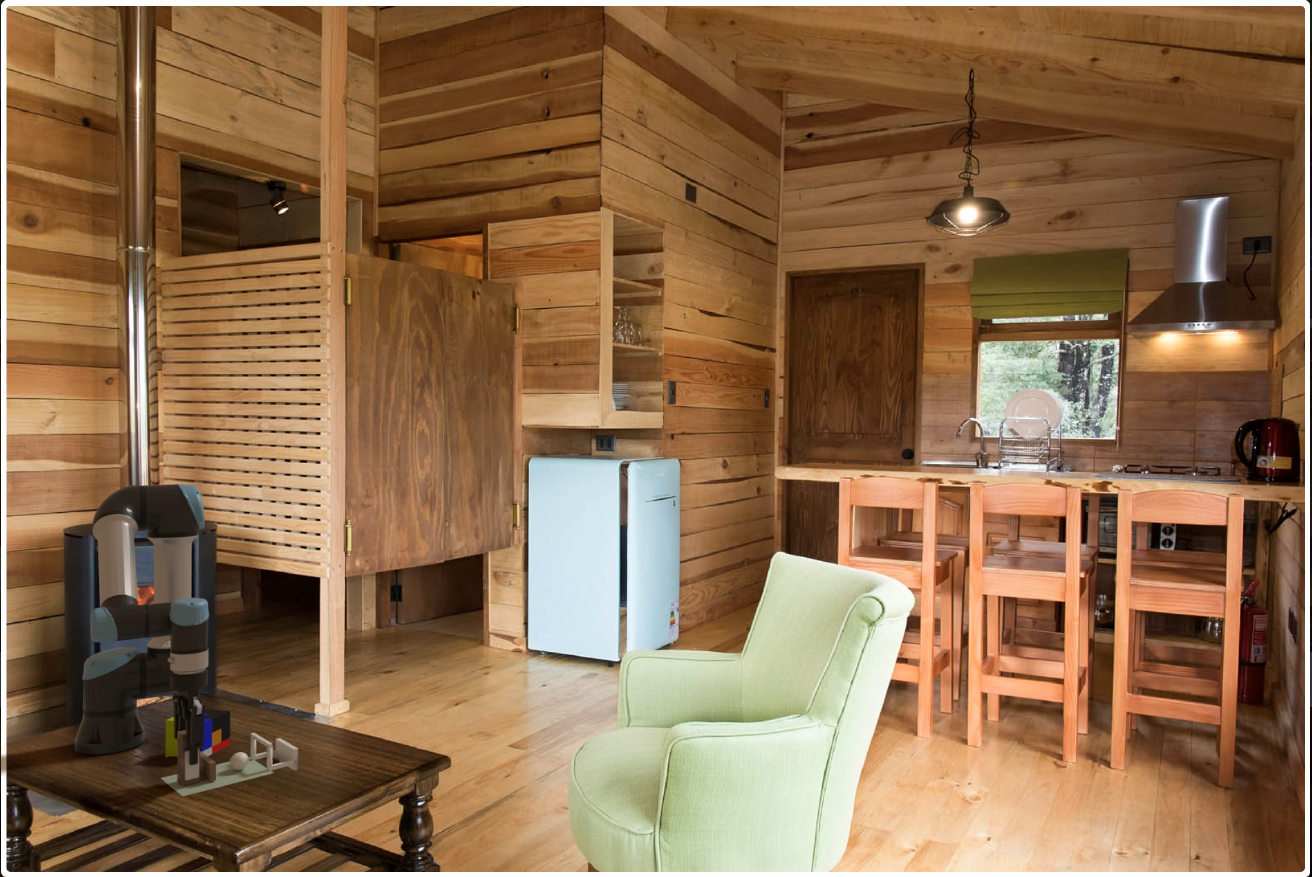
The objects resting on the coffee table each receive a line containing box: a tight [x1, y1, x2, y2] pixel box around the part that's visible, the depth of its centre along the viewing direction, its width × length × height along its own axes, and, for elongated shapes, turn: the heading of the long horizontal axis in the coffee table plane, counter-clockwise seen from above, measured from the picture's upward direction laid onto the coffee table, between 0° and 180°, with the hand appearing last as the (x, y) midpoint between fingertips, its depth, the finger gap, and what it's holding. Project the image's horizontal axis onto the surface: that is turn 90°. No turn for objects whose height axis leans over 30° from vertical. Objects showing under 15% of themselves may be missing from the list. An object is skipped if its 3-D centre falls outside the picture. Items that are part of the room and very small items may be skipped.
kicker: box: [176, 730, 217, 786], centre depth 206 cm, size 7×6×11 cm
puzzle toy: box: [165, 708, 231, 758], centre depth 226 cm, size 10×10×10 cm
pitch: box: [160, 732, 299, 797], centre depth 212 cm, size 14×26×8 cm, turn 135°
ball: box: [229, 751, 249, 771], centre depth 213 cm, size 4×4×4 cm
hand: (188, 775), depth 205 cm, fingers closed on kicker, 3 cm apart
